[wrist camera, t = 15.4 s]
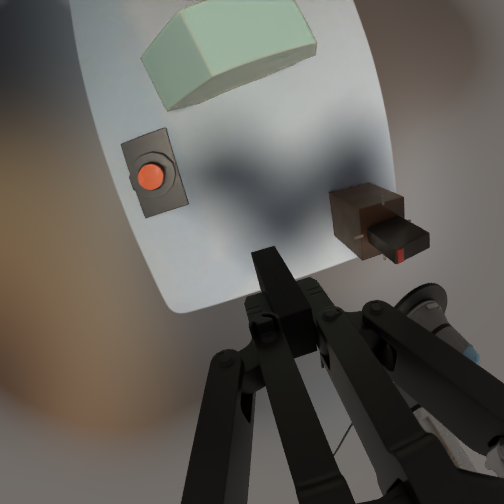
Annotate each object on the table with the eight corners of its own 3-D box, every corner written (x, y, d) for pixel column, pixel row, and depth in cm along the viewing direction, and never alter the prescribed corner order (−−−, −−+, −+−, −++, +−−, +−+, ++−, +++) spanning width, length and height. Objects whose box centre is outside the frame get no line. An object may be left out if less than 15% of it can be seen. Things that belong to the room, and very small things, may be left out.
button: (168, 183, 38) (166, 185, 36) (144, 191, 37) (142, 193, 36) (160, 159, 36) (158, 160, 35) (136, 167, 36) (134, 169, 34)
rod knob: (399, 215, 37) (430, 233, 30) (400, 228, 38) (430, 248, 31) (366, 229, 37) (395, 250, 30) (368, 242, 38) (396, 265, 31)
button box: (188, 203, 41) (187, 207, 39) (146, 217, 41) (143, 222, 39) (166, 127, 36) (163, 127, 34) (121, 143, 36) (117, 144, 34)
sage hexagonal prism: (221, 49, 36) (324, -11, 20) (241, 89, 39) (353, 42, 24) (126, 77, 28) (212, -26, 12) (150, 125, 31) (255, 49, 16)
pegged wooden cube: (377, 228, 49) (409, 250, 40) (329, 243, 48) (356, 269, 39) (373, 175, 44) (409, 188, 35) (321, 187, 44) (351, 203, 35)
